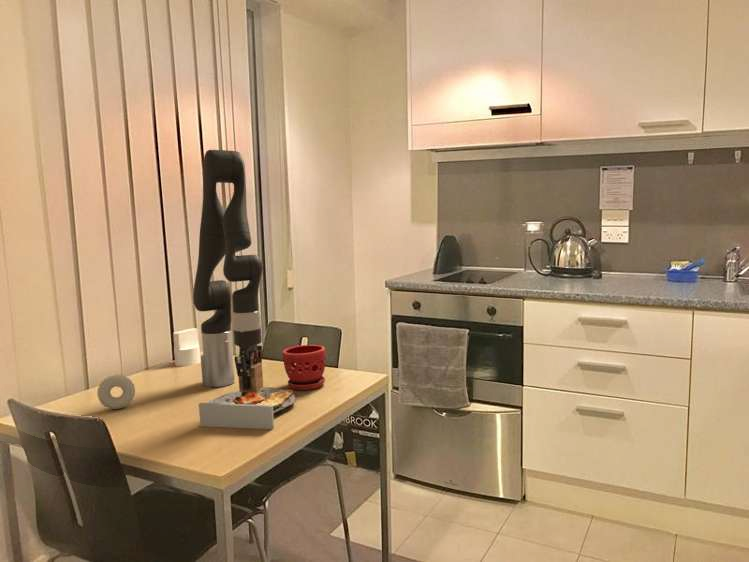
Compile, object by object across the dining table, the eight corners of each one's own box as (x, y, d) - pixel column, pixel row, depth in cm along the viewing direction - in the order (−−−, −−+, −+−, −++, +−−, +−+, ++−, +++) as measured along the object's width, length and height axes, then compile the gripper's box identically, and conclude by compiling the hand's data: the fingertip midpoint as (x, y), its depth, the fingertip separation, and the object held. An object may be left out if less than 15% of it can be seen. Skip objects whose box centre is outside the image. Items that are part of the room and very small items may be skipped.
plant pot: (329, 379, 193) (328, 343, 192) (322, 392, 180) (320, 353, 179) (290, 379, 194) (288, 343, 193) (280, 392, 182) (277, 354, 180)
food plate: (251, 389, 185) (250, 378, 185) (312, 400, 174) (311, 388, 173) (189, 417, 164) (188, 405, 164) (253, 432, 152) (252, 419, 152)
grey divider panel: (200, 426, 156) (198, 403, 155) (202, 424, 157) (200, 402, 156) (272, 429, 152) (271, 406, 151) (274, 427, 153) (272, 405, 152)
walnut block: (239, 391, 166) (237, 367, 165) (246, 386, 171) (245, 362, 170) (256, 392, 165) (254, 367, 164) (263, 386, 170) (261, 362, 169)
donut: (98, 413, 169) (95, 379, 167) (99, 409, 172) (96, 375, 171) (136, 408, 172) (133, 374, 171) (136, 404, 175) (133, 371, 174)
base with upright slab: (190, 358, 227) (187, 327, 225) (205, 361, 222) (203, 329, 220) (170, 364, 219) (167, 332, 218) (185, 367, 214) (182, 334, 213)
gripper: (245, 321, 173) (248, 378, 176) (223, 332, 160) (227, 394, 162) (269, 321, 172) (273, 379, 174) (249, 332, 158) (253, 395, 160)
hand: (251, 386), depth 168 cm, fingers closed on walnut block, 5 cm apart
